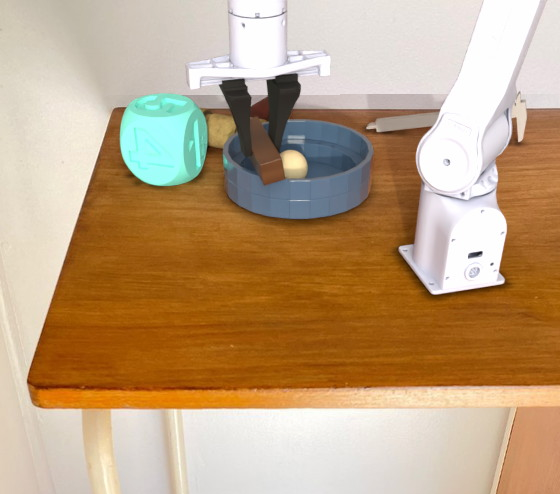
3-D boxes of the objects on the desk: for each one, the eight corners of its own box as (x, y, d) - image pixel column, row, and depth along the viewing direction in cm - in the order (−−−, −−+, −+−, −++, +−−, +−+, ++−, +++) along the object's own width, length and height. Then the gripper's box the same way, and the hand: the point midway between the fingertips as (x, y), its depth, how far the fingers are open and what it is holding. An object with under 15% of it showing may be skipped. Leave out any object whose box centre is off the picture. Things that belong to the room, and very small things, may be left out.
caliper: (521, 141, 111) (531, 91, 106) (521, 144, 110) (531, 94, 106) (367, 128, 114) (370, 78, 110) (365, 131, 113) (369, 81, 109)
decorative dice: (185, 190, 101) (179, 121, 95) (124, 181, 102) (114, 113, 97) (209, 163, 106) (205, 96, 100) (151, 155, 108) (144, 89, 102)
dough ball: (310, 144, 97) (297, 167, 96) (314, 173, 101) (302, 196, 99) (278, 140, 99) (265, 163, 97) (284, 168, 102) (271, 191, 101)
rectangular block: (285, 179, 89) (282, 158, 87) (264, 186, 89) (259, 164, 87) (261, 136, 95) (257, 115, 93) (241, 142, 95) (236, 122, 93)
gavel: (258, 71, 120) (323, 82, 117) (258, 105, 123) (321, 117, 120) (182, 112, 106) (254, 125, 103) (184, 149, 109) (254, 163, 106)
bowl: (391, 213, 97) (395, 169, 93) (244, 232, 93) (243, 188, 90) (343, 152, 108) (345, 112, 105) (211, 168, 105) (208, 127, 102)
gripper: (317, -8, 85) (314, 130, 95) (175, 4, 83) (186, 144, 92) (339, 12, 81) (333, 155, 90) (189, 25, 78) (199, 170, 87)
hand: (260, 151), depth 91 cm, fingers closed on rectangular block, 2 cm apart
